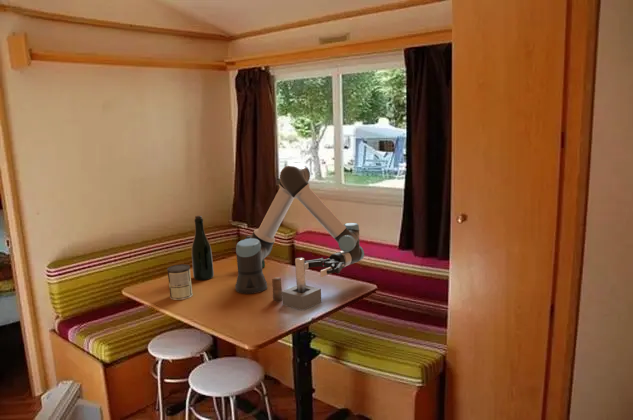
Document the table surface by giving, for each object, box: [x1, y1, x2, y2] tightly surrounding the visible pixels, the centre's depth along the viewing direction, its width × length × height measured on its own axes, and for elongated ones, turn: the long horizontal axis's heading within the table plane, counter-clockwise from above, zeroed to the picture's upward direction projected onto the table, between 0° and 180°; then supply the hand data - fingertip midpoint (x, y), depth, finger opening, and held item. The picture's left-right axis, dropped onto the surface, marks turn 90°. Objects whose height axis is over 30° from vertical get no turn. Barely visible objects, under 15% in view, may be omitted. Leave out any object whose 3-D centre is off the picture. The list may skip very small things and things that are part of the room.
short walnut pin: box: [271, 276, 283, 303], centre depth 223 cm, size 4×4×10 cm
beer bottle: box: [191, 215, 215, 281], centre depth 259 cm, size 10×10×33 cm
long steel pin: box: [294, 257, 307, 293], centre depth 216 cm, size 4×4×20 cm
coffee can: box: [166, 263, 194, 301], centre depth 233 cm, size 10×10×14 cm
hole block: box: [282, 284, 322, 311], centre depth 217 cm, size 12×12×6 cm
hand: (309, 271), depth 219 cm, fingers open, 13 cm apart
